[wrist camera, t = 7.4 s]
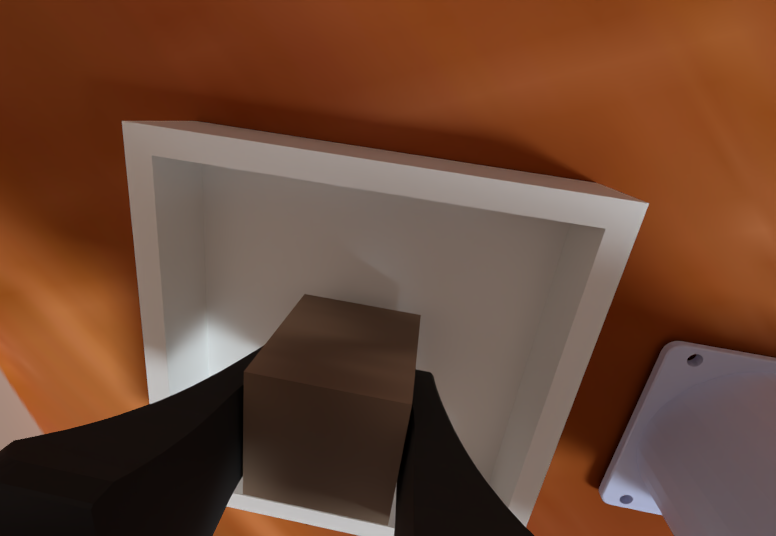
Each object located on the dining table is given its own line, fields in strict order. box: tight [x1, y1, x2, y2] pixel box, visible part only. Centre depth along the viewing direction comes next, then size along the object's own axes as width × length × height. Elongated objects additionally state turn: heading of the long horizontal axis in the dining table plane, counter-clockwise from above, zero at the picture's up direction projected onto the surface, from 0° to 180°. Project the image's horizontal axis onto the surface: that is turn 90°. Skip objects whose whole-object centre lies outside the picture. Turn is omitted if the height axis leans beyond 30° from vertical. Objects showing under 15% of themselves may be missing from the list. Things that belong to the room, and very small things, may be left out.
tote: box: [122, 121, 649, 536], centre depth 14 cm, size 14×14×4 cm
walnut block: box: [243, 294, 421, 526], centre depth 12 cm, size 4×4×4 cm
